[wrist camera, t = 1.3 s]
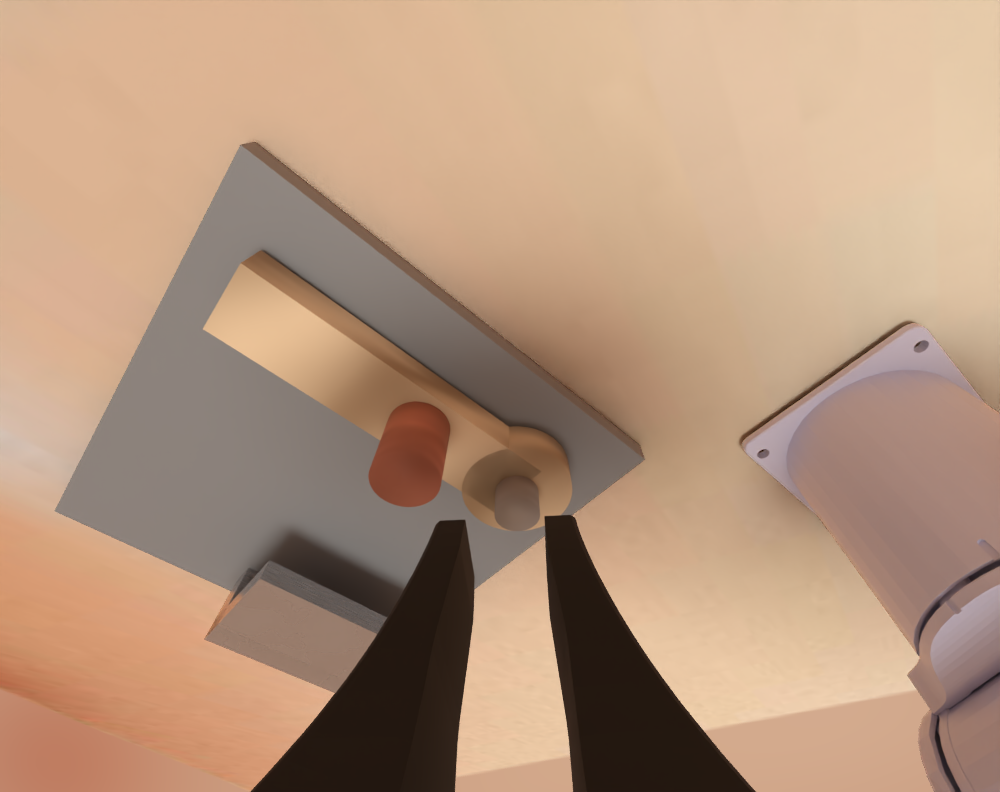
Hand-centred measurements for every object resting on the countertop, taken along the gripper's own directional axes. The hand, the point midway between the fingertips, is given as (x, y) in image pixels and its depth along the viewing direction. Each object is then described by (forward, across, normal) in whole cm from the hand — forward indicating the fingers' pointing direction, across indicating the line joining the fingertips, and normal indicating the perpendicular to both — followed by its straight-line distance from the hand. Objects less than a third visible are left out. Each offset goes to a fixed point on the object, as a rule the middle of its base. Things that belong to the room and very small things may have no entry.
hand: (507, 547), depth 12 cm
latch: (+9, +4, +1) cm, 10 cm away
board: (+10, +8, +6) cm, 14 cm away
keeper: (+10, +9, +14) cm, 20 cm away
